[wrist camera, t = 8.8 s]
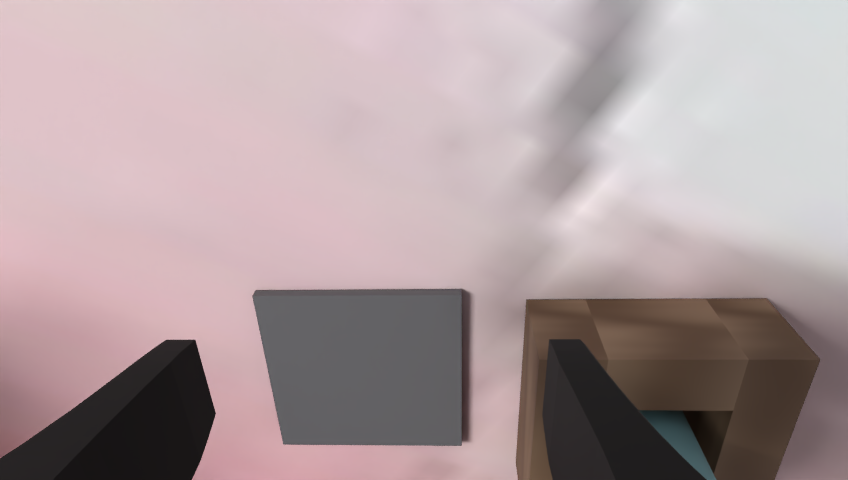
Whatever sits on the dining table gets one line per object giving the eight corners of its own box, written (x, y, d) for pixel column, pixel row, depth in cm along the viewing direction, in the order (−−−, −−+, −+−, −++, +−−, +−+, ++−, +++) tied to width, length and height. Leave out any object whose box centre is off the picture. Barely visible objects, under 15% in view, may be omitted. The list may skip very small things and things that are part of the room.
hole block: (515, 462, 26) (525, 532, 23) (526, 299, 22) (539, 359, 19) (716, 464, 26) (752, 536, 23) (766, 298, 21) (820, 359, 18)
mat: (285, 437, 26) (283, 444, 26) (255, 290, 22) (252, 296, 22) (461, 438, 25) (461, 445, 25) (461, 289, 22) (461, 294, 21)
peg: (589, 413, 24) (656, 641, 17) (597, 359, 23) (674, 580, 15) (659, 413, 24) (761, 644, 16) (672, 359, 23) (789, 582, 15)
